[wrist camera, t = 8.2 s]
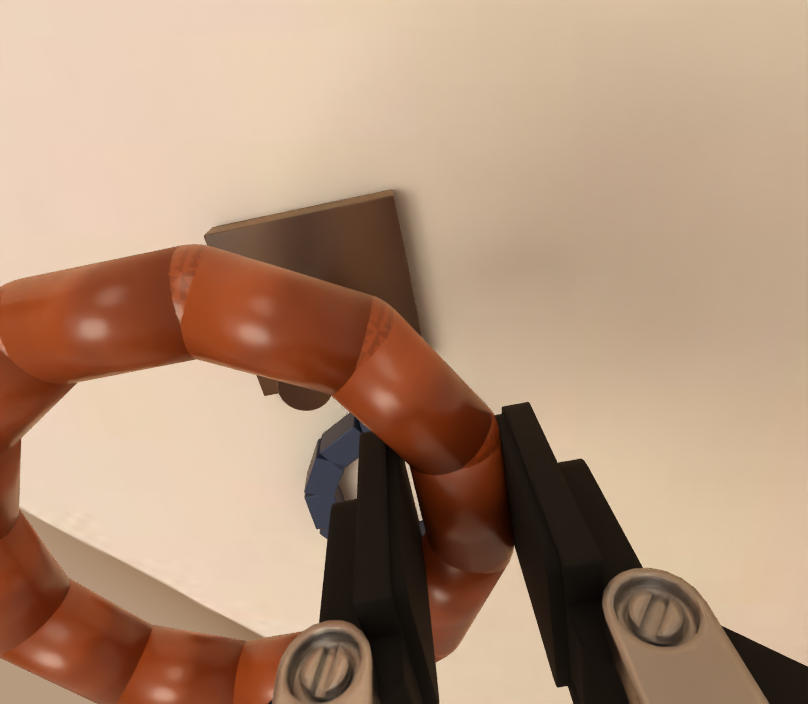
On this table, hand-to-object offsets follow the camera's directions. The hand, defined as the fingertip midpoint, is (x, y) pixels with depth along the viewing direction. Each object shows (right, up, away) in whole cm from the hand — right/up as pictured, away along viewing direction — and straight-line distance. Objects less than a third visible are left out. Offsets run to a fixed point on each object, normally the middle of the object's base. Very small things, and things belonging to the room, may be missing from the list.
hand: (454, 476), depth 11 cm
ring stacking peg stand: (-5, +6, +17) cm, 18 cm away
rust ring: (-5, -1, 0) cm, 5 cm away
